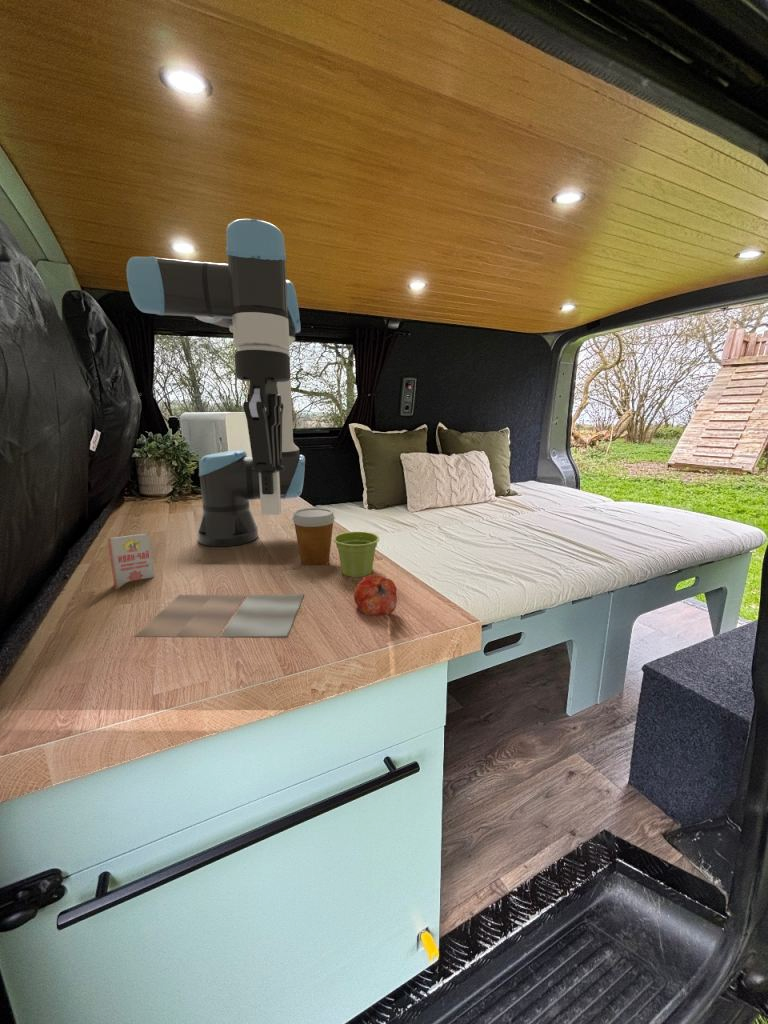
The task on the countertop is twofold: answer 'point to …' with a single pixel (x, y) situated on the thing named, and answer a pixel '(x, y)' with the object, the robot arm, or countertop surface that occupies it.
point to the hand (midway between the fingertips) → (271, 513)
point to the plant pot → (356, 552)
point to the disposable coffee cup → (314, 534)
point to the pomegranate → (375, 595)
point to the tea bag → (130, 558)
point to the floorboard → (193, 616)
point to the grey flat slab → (264, 616)
